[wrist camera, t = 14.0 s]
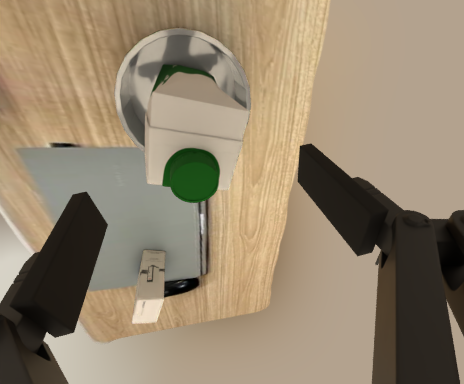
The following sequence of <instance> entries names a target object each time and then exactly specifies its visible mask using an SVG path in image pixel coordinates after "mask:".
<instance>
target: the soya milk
mask: <svg viewBox="0 0 464 384" xmlns="http://www.w3.org/2000/svg"><path fill="white" fill-rule="evenodd" d="M249 114H250V111H248V110H247V109H246V108H244V107H243V106H242V105H240V104H239V103H238V102H236V101H235V100H234V99H232V98H231V97H230V96H228V95H227V94H226V93H224V92H223V91H222V90H221V89H220V88H219V87H218V85H217V84H216V81H215V79H214V76H212V75H210V74H209V73H207V72H205V71H202V70H198V69H194V68H190V67H185V66H181V65H165V64H163V66H162V68H161V70H160V73H159V75H158V77H157V79H156V82H155V84H154V87H153V89H152V93H151V96H150V99H149V103H148V107H147V117H146V112H145V165H146V176H147V183H148V184H158V185H162V186H166V187H171V190H172V192H173V193H174V195H175V196H176V197H178V198H179V199H181V200H183V201H185V202H190V203H197V202H202V201H205V200H207V199H209V198H210V197H211V196H213V195H214V193H215V192H216V191H217V190H229V187H230V184H231V180H232V177H233V173H234V170H235V167H236V163H237V160H238V156H239V153H240V151H241V148H242V144H243V135H244V132H245V128H246V125H247V121H248V118H249Z"/></svg>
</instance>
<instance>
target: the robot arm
mask: <svg viewBox="0 0 464 384" xmlns="http://www.w3.org/2000/svg"><path fill="white" fill-rule="evenodd" d="M298 182H299V184H300V185H301V186H302V187H303V189H304V190H305V191H306V192H307V194H308V195H309V196H310V197H311V199H312V200H313V201H314V202H315V203H316V205H317V206H318V207H319V209H320V210H321V211H322V212H323V214H324V215H325V216H326V217H327V219H328V220H329V221H330V222H331V224H332V225H333V226H334V227H335V229H336V230H337V231H338V232H339V234H340V235H341V236H342V237H343V239H344V240H345V241H346V242H347V243H348V245H349V246H350V247H351V248H352V250H353V251H354V252H355V254H356V255H357V256H360V255H364V254H368V253H372V251H373V249H374V247H375V244H376V245H377V246H378V247H379V248H380V249H381V252H380V254H379V256H378V259H377V261H376V265H378V264H379V269H378V287H377V304H376V306H377V307H376V321H375V338H374V357H373V374H372V384H460V380H459V374H458V368H457V362H456V356H455V350H454V344H453V338H452V332H451V326H450V320H449V314H448V308H447V302H448V304H449V306H450V308H451V310H452V312H453V314H454V317H455V319H456V321H457V323H458V325H459V327H460V329H461V332H462V334H463V336H464V210H458V211H455V212H453V213H452V215H451V216H450V218H449V219H429V218H428V217H427V216H425V215H423V214H421V213H419V212H416V211H410V210H403V209H402V208H400V207H399V206H398V205H396V204H395V203H394V202H393V201H392V200H390V199H389V198H388V197H387V196H385V195H384V194H383V193H381V192H380V191H379V190H378V189H377V188H375V187H374V186H373V185H372V184H370V183H369V182H368V181H366V180H363V179H361V178H359V177H356V178H351V177H350V176H349V175H347V174H346V173H345V172H344V171H343V170H342V169H340V168H339V167H338V166H337V165H335V163H333V162H332V161H331V160H330V159H329V158H328V157H326V156H325V155H324V154H323V153H322V152H321V151H319V150H318V149H317V148H316V147H315V146H314V145H312V144H307V145H302V146H300V152H299V168H298ZM107 226H108V224H107V223H106V221H105V220H104V218H103V217H102V215H101V213H100V212H99V210H98V209H97V207H96V206H95V204H94V202H93V201H92V199H91V198H90V196H89V195H88V193H87V192H82V193H78V194H73V195H72V197H71V199H70V201H69V202H68V204H67V206H66V207H65V209H64V211H63V213H62V214H61V216H60V218H59V220H58V221H57V223H56V225H55V227H54V228H53V230H52V232H51V234H50V235H49V237H48V239H47V241H46V242H45V244H44V246H43V247H42V249H41V251H40V252H37V253H34V254H33V255H32V256H31V257H30V258H29V259H28V260H27V261H26V262H25V264H24V265H23V267H22V269H21V270H20V272H19V275H17V277H16V278H15V280H14V284H12V285H11V286H10V288H9V290H8V291H7V293H6V295H5V296H4V298H3V300H2V301H1V303H0V384H68V382H67V380H66V378H65V376H64V374H63V372H62V371H61V369H60V367H59V365H58V363H57V361H56V359H55V358H54V356H53V354H52V352H51V350H50V348H49V346H48V345H47V344H46V343H45V342H44V341H43V339H44V337H45V334H46V332H48V333H49V334H51V335H52V336H54V337H55V338H56V337H59V336H63V335H67V334H70V333H73V332H74V330H75V328H76V324H77V321H78V318H79V315H80V312H81V308H82V305H83V302H84V299H85V296H86V293H87V289H88V286H89V283H90V280H91V277H92V274H93V270H94V267H95V264H96V261H97V258H98V255H99V251H100V248H101V245H102V242H103V239H104V235H105V232H106V229H107ZM446 299H447V302H446Z"/></svg>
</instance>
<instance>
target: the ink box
mask: <svg viewBox="0 0 464 384" xmlns="http://www.w3.org/2000/svg"><path fill="white" fill-rule="evenodd" d="M164 272H165V251H154V250H144V251H143V255H142V260H141V265H140V271H139V276H138V282H137V288H136V295H135V302H134V309H133V317H132V324H136V323H156V322H157V319H158V316H159V313H160V310H161V307H162V304H163V301H164Z"/></svg>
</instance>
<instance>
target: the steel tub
mask: <svg viewBox="0 0 464 384" xmlns="http://www.w3.org/2000/svg"><path fill="white" fill-rule="evenodd" d="M163 64H165V65H181V66H185V67H190V68H194V69H198V70H202V71H205V72H207V73H209V74H210V75H212V76H214V79H215V81H216V84H217V85H218V87H219V88H220V89H221V90H222V91H223V92H224V93H226V94H227V95H228V96H230V97H231V98H232V99H234V100H235V101H236V102H238V103H239V104H240V105H242V106H243V107H244V108H246V109H247V110H248V111H250V109H251V97H250V87H249V84H248V81H247V78H246V75H245V72H244V69H243V68H242V66H241V65H240V63H239V62H238V60H237V58H236V57H235V55H234V54H233V53H232V52H231V51H230V50H229V49H228V48H226V47H225V46H224V45H223V44H222V43H221V42H220V41H218V40H217V39H215V38H213V37H211V36H209V35H207V34H205V33H203V32H201V31H197V30H191V29H185V28H179V27H176V28H169V29H163V30H159V31H157V32H155V33H153V34H151V35H149V36H147V37H145V38H143V39H141V40H140V41H139V42H138V43H137V44H136V45H135V46H134V47H133V48H132V49H131V50H130V51H129V52H128V53H127V54H126V56H125V58H124V60H123V62H122V64H121V66H120V68H119V70H118V72H117V77H116V84H115V91H114V96H115V103H116V110H117V114H118V117H119V119H120V121H121V124H122V126H123V128H124V130H125V132H126V133H127V134H128V136H129V137H130V138H131V140H132V141H133V142H134V144H135V145H136V146H138V147H139V148H140V149H141V150H142V151H144V152H145V112H146V117H147V107H148V103H149V99H150V96H151V93H152V89H153V87H154V84H155V82H156V79H157V77H158V75H159V73H160V70H161V68H162V66H163ZM249 115H250V114H249ZM248 120H249V118H248ZM247 123H248V121H247ZM246 126H247V125H246Z"/></svg>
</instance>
